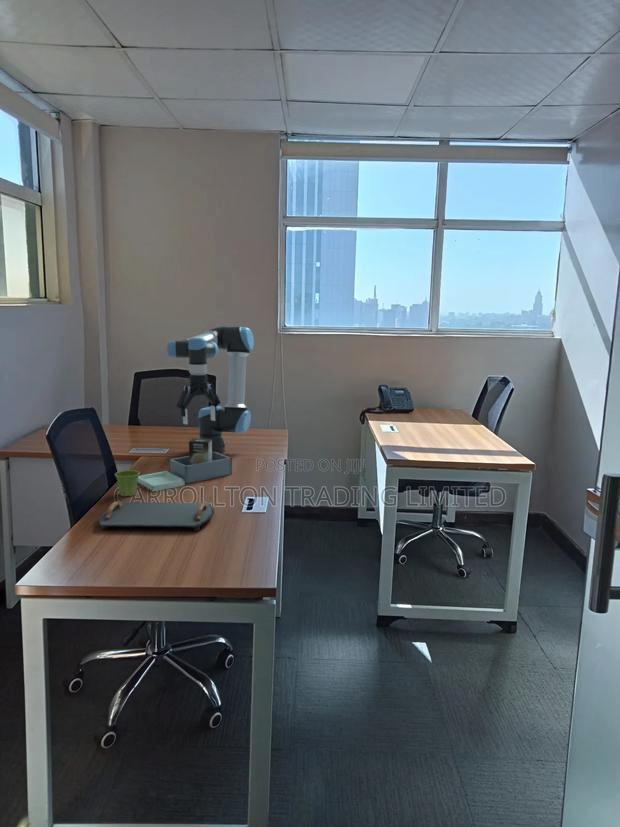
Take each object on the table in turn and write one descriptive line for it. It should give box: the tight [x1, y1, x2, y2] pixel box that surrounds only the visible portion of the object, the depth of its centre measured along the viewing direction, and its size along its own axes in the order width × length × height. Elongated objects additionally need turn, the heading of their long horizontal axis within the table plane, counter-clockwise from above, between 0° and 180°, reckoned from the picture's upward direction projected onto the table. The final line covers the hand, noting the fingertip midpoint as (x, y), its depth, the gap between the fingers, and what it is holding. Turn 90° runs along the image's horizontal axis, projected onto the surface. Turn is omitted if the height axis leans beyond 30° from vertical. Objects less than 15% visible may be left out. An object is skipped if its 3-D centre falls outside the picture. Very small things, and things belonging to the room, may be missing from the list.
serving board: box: [98, 501, 215, 532], centre depth 199 cm, size 39×23×6 cm, turn 90°
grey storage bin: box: [168, 452, 233, 484], centre depth 253 cm, size 23×15×8 cm, turn 130°
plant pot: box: [114, 469, 141, 497], centre depth 226 cm, size 9×9×9 cm
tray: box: [137, 470, 186, 493], centre depth 240 cm, size 14×17×2 cm
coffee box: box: [188, 437, 212, 465], centre depth 252 cm, size 9×6×16 cm
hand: (199, 422), depth 249 cm, fingers open, 13 cm apart
